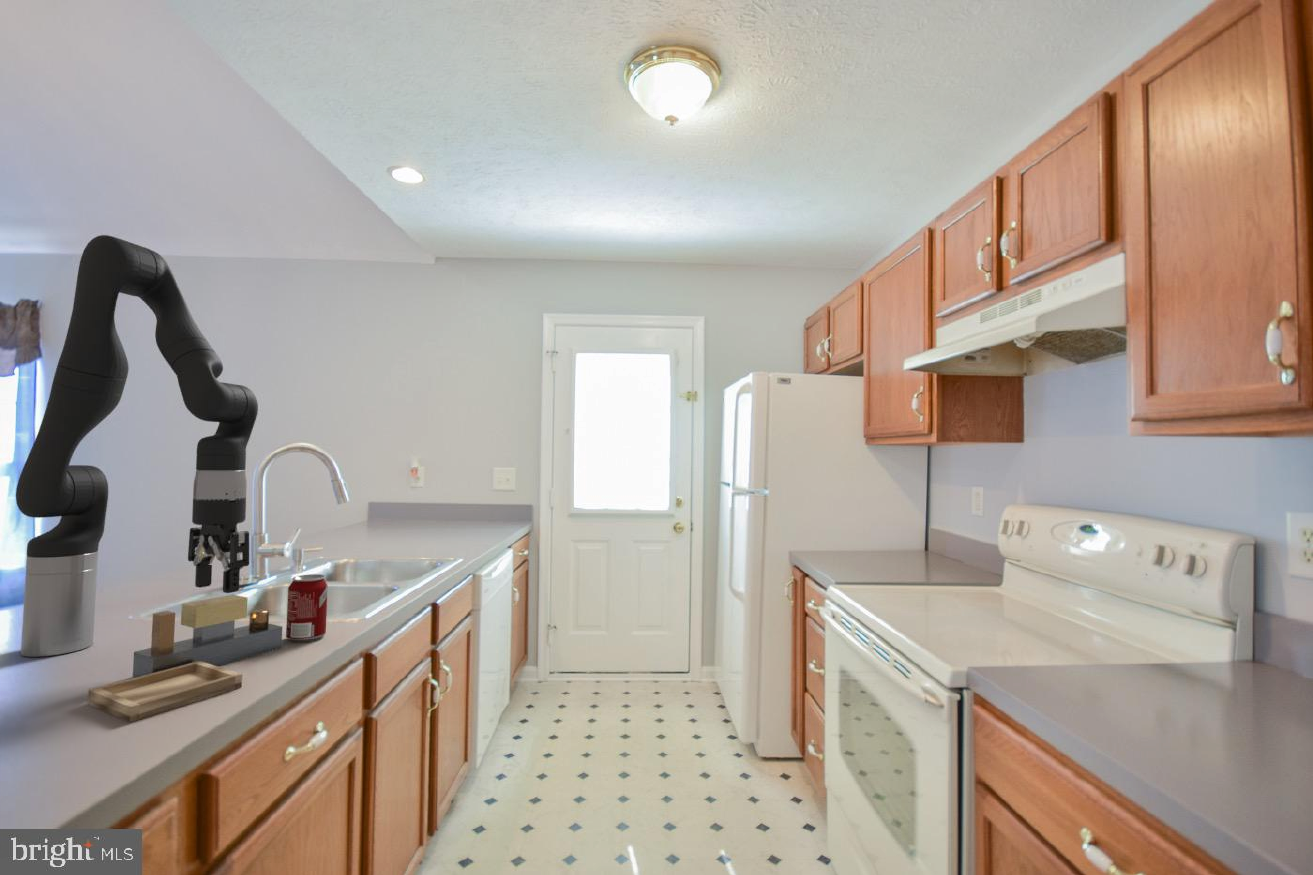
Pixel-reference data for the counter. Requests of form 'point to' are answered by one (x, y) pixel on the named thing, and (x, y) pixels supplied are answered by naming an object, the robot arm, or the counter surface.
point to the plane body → (206, 643)
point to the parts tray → (163, 690)
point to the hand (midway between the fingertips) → (216, 589)
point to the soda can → (306, 608)
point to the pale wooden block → (213, 611)
